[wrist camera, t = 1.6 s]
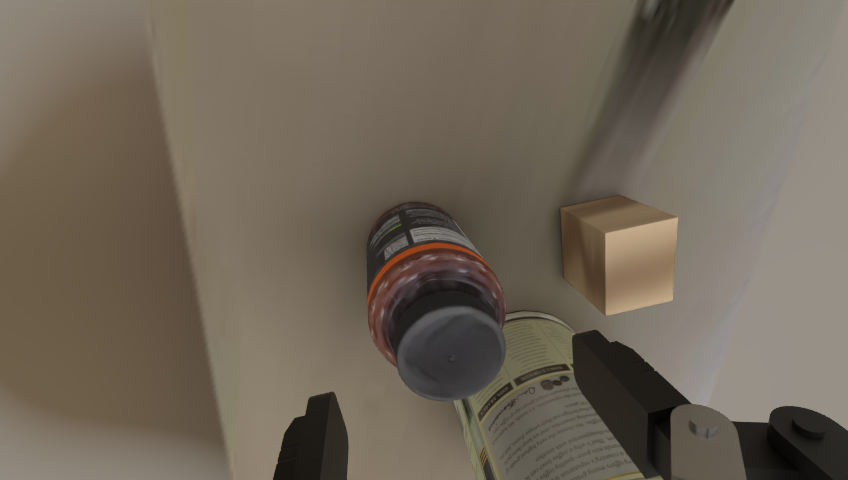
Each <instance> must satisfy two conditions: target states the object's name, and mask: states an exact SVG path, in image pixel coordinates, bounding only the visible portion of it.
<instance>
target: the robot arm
mask: <svg viewBox="0 0 848 480" xmlns="http://www.w3.org/2000/svg"><path fill="white" fill-rule="evenodd" d="M572 353H573V372H574V377H575V381H576V383H577V386H578V388H579V389H580V391H581V393H582V394H583V395H584V397H585V398H586V399H587V401H588V402H589V403H590V405H591V406H592V407H593V409H594V410H595V411H596V413H597V414H598V415H599V417H600V418H601V420H602V421H603V422H604V424H605V425H606V426H607V428H608V429H609V430H610V432H611V433H612V434H613V436H614V437H615V438H616V440H617V441H618V442H619V444H620V445H621V446H622V448H623V449H624V451H625V452H626V453H627V455H628V456H629V457H630V459H631V460H632V461H633V463H634V464H635V465H636V467H637V468H638V469H639V471H640V472H641V473H642V475H643V476H644V478H645V479H649V478H653V477H656V476H661V477H662V478H663V480H848V431H847V430H846V429H845V428H843V427H842V426H840V425H839V424H838V423H836V422H835V421H833V420H832V419H830V418H828V417H826V416H825V415H822V414H820V413H818V412H815V411H812V410H809V409H806V408H801V407H795V406H783V407H779V408H776V409H774V410H773V411H772V412H771V414H770V418H769V423H760V422H758V423H757V422H734V421H730V420H729V419H728V418H727V417H726V416H724V415H723V414H721V413H720V412H718V411H716V410H714V409H711V408H709V407H706V406H702V405H696V404H691V403H690V402H689V401H688V400H687V399H686V398H685V397H684V396H683V395H682V394H681V393H680V392H678V391H677V390H676V389H675V388H674V387H673V386H672V385H671V384H670V383H669V382H668V381H667V380H665V379H664V378H663V377H662V376H661V375H660V374H659V373H658V372H657V371H654V368H652V367H651V366H650V365H649V364H648V363H647V362H645V361H644V359H643V358H642V357H641V356H640V355H638V354H637V353H636V352H635V351H634V350H633V349H631V348H629V347H627V346H625V345H623V344H621V343H619V342H617V341H615V342H611V343H610V342H609V341H608V340H607V339H606V338H605V337H604V336H603V335H602V334H601V333H600V332H599V331H597V330H592V331H588V332H584V333H580V334H575V335H573V337H572ZM347 465H348V435H347V430H346V426H345V423H344V420H343V417H342V414H341V411H340V408H339V405H338V401H337V398H336V395H335V393H334V392H329V393H325V394H321V395H316V396H312V397H310V398H309V400H308V404H307V409H306V414H305V416H301V417H297V418H294V420H293V421H292V423H291V424H290V426H289V427H288V429H287V430H286V432H285V434H284V438H283V442H282V446H281V451H280V453H279V457H278V464H277V465H276V469H275V473H274V477H273V480H347Z"/></svg>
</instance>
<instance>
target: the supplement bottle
mask: <svg viewBox="0 0 848 480" xmlns="http://www.w3.org/2000/svg"><path fill="white" fill-rule="evenodd" d="M367 295H368V323H369V329H370V333H371V336H372V338H373V341H374V343H375V345H376V347H377V348H378V350H379V351H380V352H381V354H382V355H383V356H384V357H385V358H386V359H387V360H388V361H389V362H390V363H391V364H393V365H394V366H395V367H397V368H398V372H399V375H400V376H401V379H402V380H403V381H404V383H405V384H406V385H407V386H408V388H409V389H411V390H412V391H413V392H415V393H416V394H418V395H419V396H422V397H424V398H427V399H431V400H437V401H454V400H461V399H464V398H467V397H470V396H472V395H474V394H476V393H478V392H479V391H481V390H482V389H484V388H485V387H486V386H488V385H489V384H490V383H491V382H492V381H493V380H494V379H495V377H496V376H497V374H498V373H499V371H500V369H501V367H502V365H503V363H504V360H505V355H506V342H505V341H506V340H505V337H504V334H503V332H502V329H503V326H504V323H505V317H506V302H505V298H504V293H503V290H502V287H501V285H500V283H499V281H498V279H497V277H496V276H495V274H494V273H493V271H492V270H491V268H490V267H489V266H488V264H487V263H486V262H485V260H484V259H483V258H482V256H481V255H480V254H479V252H478V251H477V250H476V248H475V247H474V246H473V245H472V243H471V242H470V241H469V239H468V238H467V237H466V235H465V234H464V233H463V231H462V230H461V229H460V228H459V226H458V225H457V224H456V222H455V221H454V220H453V219H452V218H451V217H450V216H449V215H448V214H447V213H446V212H444V211H443V210H441V209H439V208H437V207H435V206H432V205H429V204H424V203H409V204H404V205H401V206H399V207H396V208H394V209H392V210H390V211H389V212H387V213H386V214H384V215H383V216H382V217H381V218H380V219H379V220H378V221H377V223H376V224H375V226H374V227H373V229H372V230H371V233H370V236H369V239H368V243H367Z"/></svg>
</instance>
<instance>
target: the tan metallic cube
mask: <svg viewBox="0 0 848 480" xmlns="http://www.w3.org/2000/svg"><path fill="white" fill-rule="evenodd" d="M560 213H561V233H562V254H563V275H564V278H565V279H566V280H567V281H568V282H569V283H570V284H571V285H572V286H573V287H574V288H576V289H577V290H578V291H579V292H580V293H581V294H582V295H583V296H584V297H585V298H587V299H588V300H589V301H590V302H591V303H592V304H593V305H594V306H595V307H596V308H597V309H599V310H600V311H601V312H602V313H603V314H604V315H605V316H608V315H612V314H616V313H621V312H625V311H629V310H633V309H638V308H642V307H646V306H651V305H655V304H659V303H663V302H668V301H672V300H673V286H674V271H675V256H676V241H677V226H678V217H676V216H673V215H671V214H668V213H665V212H663V211H660V210H658V209H655V208H652V207H650V206H647V205H644V204H642V203H639V202H637V201H634V200H631V199H629V198H626V197H624V196H621V195H618V196H613V197H609V198H604V199H599V200H595V201H590V202H585V203H580V204H576V205H571V206H566V207H562V208H560Z"/></svg>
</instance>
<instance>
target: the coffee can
mask: <svg viewBox="0 0 848 480" xmlns="http://www.w3.org/2000/svg"><path fill="white" fill-rule="evenodd" d="M502 332H503V334H504V337H505V340H506V341H505V342H506V355H505V360H504V363H503V365H502V367H501V369H500V371H499V373H498V374H497V376H496V377H495V379H494V380H493V381H492V382H491V383H490V384H489V385H488V386H486V387H485V388H484V389H482V390H481V391H479V392H478V393H476V394H474V395H472V396H470V397H467V398H464V399H461V400H454V401H453V402H454V404H455V407H456V411H457V414H458V418H459V421H460V425H461V428H462V432H463V435H464V439H465V442H466V445H467V449H468V452H469V456H470V459H471V463H472V466H473V469H474V472H475V476H476V479H477V480H663V478H662V477H661V476H656V477H653V478H649V479H645V478H644V476H643V475H642V473H641V472H640V471H639V469H638V468H637V467H636V465H635V464H634V463H633V461H632V460H631V459H630V457H629V456H628V455H627V453H626V452H625V451H624V449H623V448H622V446H621V445H620V444H619V442H618V441H617V440H616V438H615V437H614V436H613V434H612V433H611V432H610V430H609V429H608V428H607V426H606V425H605V424H604V422H603V421H602V420H601V418H600V417H599V415H598V414H597V413H596V411H595V410H594V409H593V407H592V406H591V405H590V403H589V402H588V401H587V399H586V398H585V397H584V395H583V394H582V393H581V391H580V389H579V388H578V386H577V383H576V381H575V377H574V372H573V353H572V337H573V335H575V333H574V332H573V330H572V329H571V328H570V327H569V326H568V325H567V324H566V323H564V322H563V321H561V320H560V319H558V318H556V317H554V316H551V315H549V314H545V313H541V312H533V311H520V312H515V313H510V314H506V317H505V323H504V326H503V329H502Z"/></svg>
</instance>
